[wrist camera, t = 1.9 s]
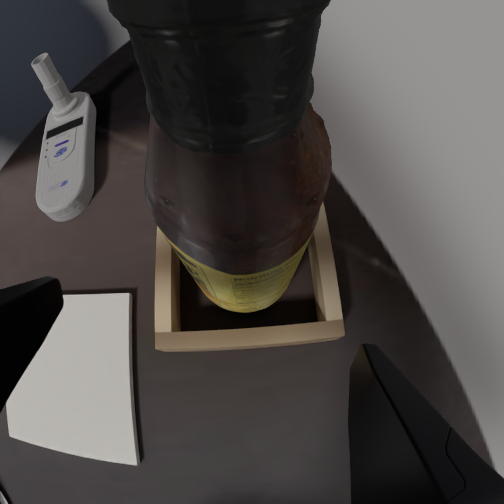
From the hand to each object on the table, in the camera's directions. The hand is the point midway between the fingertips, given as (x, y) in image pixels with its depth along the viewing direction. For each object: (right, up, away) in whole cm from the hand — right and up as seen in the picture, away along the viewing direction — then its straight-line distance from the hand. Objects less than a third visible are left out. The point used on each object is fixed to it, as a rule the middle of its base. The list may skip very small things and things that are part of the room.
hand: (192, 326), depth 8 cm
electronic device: (-16, +11, +18) cm, 27 cm away
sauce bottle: (+1, 0, +13) cm, 13 cm away
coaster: (-12, -7, +10) cm, 18 cm away
